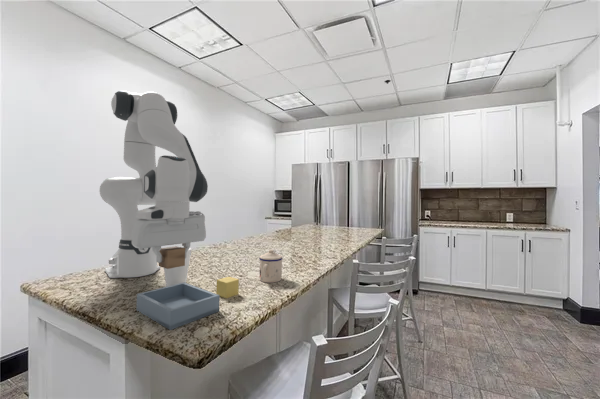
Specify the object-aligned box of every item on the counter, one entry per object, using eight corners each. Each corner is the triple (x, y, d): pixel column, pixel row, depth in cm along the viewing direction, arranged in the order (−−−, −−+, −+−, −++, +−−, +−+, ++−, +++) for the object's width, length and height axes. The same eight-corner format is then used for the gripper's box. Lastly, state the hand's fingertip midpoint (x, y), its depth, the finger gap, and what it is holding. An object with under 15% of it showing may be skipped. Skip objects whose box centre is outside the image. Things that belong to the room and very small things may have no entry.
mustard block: (216, 295, 88) (216, 279, 88) (228, 291, 92) (229, 276, 92) (226, 298, 85) (226, 282, 85) (238, 294, 89) (238, 279, 89)
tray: (136, 310, 75) (136, 294, 75) (183, 296, 86) (184, 282, 86) (170, 330, 64) (170, 311, 64) (219, 311, 75) (219, 295, 75)
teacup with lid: (263, 275, 112) (264, 247, 112) (284, 277, 110) (285, 248, 110) (252, 284, 100) (252, 252, 100) (275, 286, 98) (276, 254, 98)
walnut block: (158, 266, 77) (159, 248, 77) (175, 263, 81) (176, 246, 81) (167, 268, 74) (168, 250, 74) (184, 265, 78) (185, 248, 78)
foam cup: (179, 291, 91) (179, 252, 91) (155, 288, 93) (155, 250, 93) (195, 282, 100) (196, 247, 100) (173, 280, 102) (174, 246, 102)
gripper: (198, 210, 88) (198, 253, 88) (129, 212, 71) (128, 264, 71) (210, 211, 84) (209, 256, 84) (140, 213, 68) (139, 268, 67)
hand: (171, 260), depth 77 cm, fingers closed on walnut block, 5 cm apart
